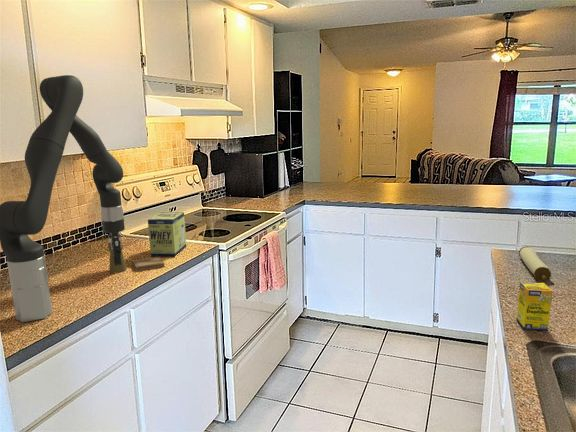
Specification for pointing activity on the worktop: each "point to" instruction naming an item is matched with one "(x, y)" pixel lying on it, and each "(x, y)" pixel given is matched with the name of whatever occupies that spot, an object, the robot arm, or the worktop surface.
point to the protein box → (167, 234)
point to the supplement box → (534, 306)
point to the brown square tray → (148, 263)
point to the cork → (112, 264)
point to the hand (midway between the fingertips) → (117, 263)
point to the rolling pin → (535, 264)
